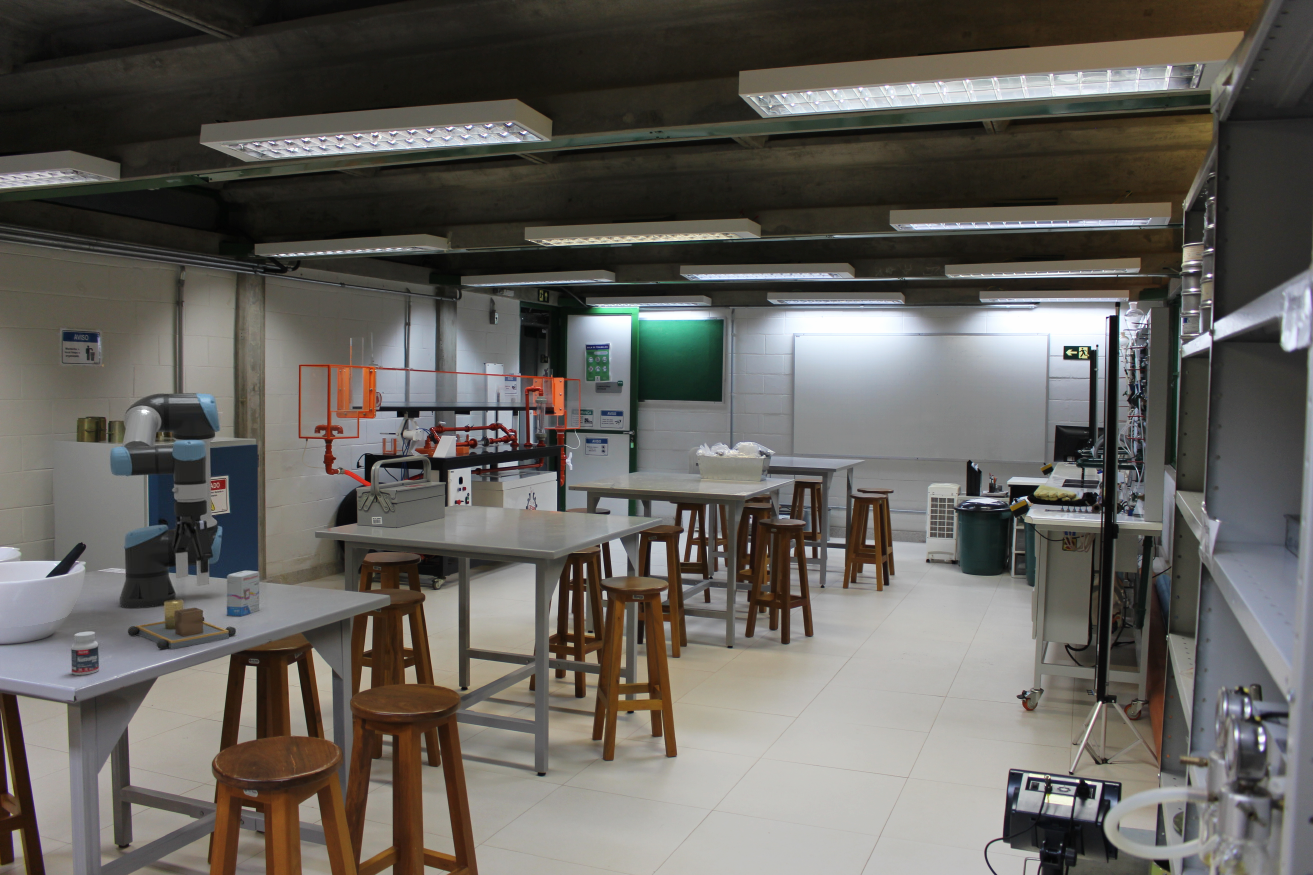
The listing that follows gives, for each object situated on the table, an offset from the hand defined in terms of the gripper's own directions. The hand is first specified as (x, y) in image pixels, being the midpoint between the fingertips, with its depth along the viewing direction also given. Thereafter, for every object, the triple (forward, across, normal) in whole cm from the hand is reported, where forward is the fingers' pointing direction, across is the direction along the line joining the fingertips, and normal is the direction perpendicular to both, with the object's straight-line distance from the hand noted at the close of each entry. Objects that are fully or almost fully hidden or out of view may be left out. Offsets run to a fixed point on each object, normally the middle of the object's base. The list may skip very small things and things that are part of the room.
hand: (192, 581), depth 237 cm
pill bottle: (+14, +14, -29) cm, 35 cm away
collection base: (+15, -4, -1) cm, 16 cm away
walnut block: (+13, +1, -2) cm, 13 cm away
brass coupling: (+14, -9, -2) cm, 16 cm away
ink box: (+16, -18, +21) cm, 32 cm away
